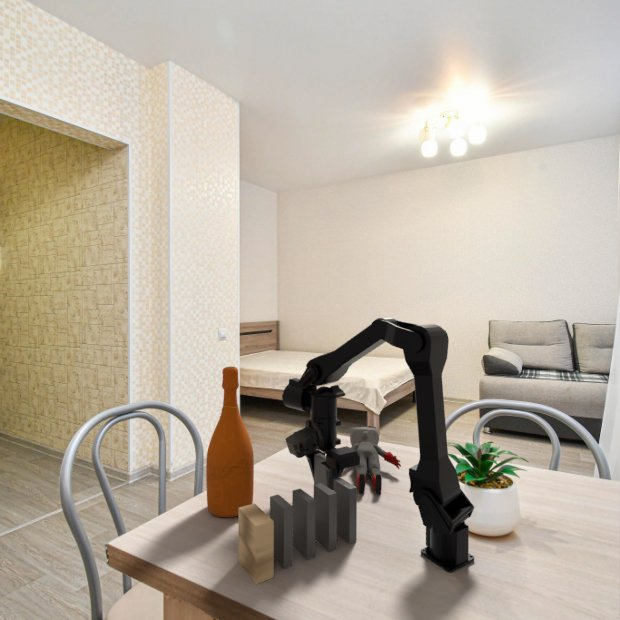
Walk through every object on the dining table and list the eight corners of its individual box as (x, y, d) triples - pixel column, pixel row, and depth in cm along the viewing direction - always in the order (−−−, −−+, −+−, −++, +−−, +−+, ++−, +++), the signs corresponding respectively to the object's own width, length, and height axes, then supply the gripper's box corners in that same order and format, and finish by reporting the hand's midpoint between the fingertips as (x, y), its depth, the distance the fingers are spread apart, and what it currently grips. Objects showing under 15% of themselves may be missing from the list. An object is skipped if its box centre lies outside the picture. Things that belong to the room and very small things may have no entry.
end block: (273, 577, 67) (273, 521, 67) (256, 584, 66) (256, 526, 66) (254, 555, 73) (254, 503, 73) (238, 560, 72) (238, 507, 71)
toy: (336, 474, 97) (338, 416, 126) (336, 511, 98) (338, 445, 128) (407, 477, 95) (392, 417, 125) (405, 514, 97) (391, 447, 127)
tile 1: (333, 506, 91) (333, 460, 90) (326, 508, 90) (326, 461, 90) (320, 497, 95) (320, 453, 95) (314, 499, 94) (314, 454, 94)
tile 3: (336, 549, 75) (336, 493, 75) (329, 552, 74) (329, 495, 74) (320, 536, 79) (320, 482, 79) (313, 538, 78) (313, 484, 78)
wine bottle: (263, 506, 91) (263, 366, 90) (227, 525, 83) (227, 372, 82) (233, 493, 97) (232, 362, 96) (196, 509, 89) (196, 367, 89)
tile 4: (315, 557, 73) (315, 499, 72) (307, 560, 72) (307, 501, 72) (300, 543, 77) (300, 488, 77) (292, 545, 76) (292, 490, 76)
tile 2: (356, 541, 77) (356, 487, 77) (349, 544, 77) (349, 489, 76) (340, 529, 82) (340, 477, 82) (333, 531, 81) (333, 479, 81)
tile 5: (292, 565, 70) (292, 506, 70) (283, 569, 69) (283, 508, 69) (278, 551, 74) (278, 494, 74) (269, 553, 74) (269, 496, 73)
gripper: (270, 410, 96) (270, 479, 96) (315, 432, 80) (315, 515, 80) (312, 404, 101) (312, 469, 102) (362, 423, 86) (361, 500, 86)
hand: (323, 486), depth 92 cm, fingers closed on tile 1, 5 cm apart
